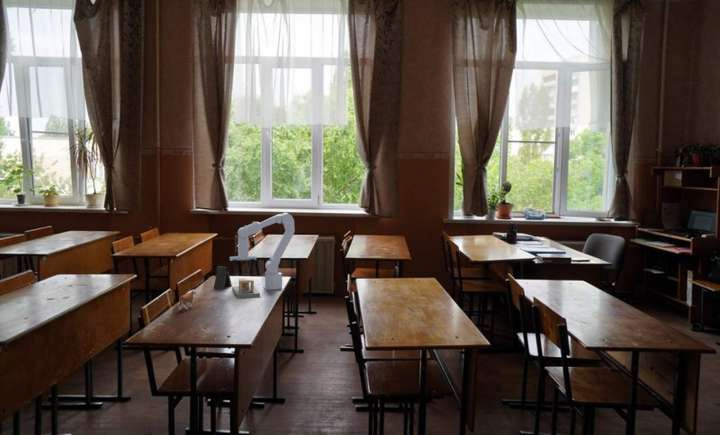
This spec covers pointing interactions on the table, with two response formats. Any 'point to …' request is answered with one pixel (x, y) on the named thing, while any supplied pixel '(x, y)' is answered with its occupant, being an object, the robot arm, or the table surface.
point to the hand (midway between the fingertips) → (243, 272)
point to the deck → (245, 292)
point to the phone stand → (222, 278)
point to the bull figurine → (187, 298)
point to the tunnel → (246, 282)
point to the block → (244, 284)
